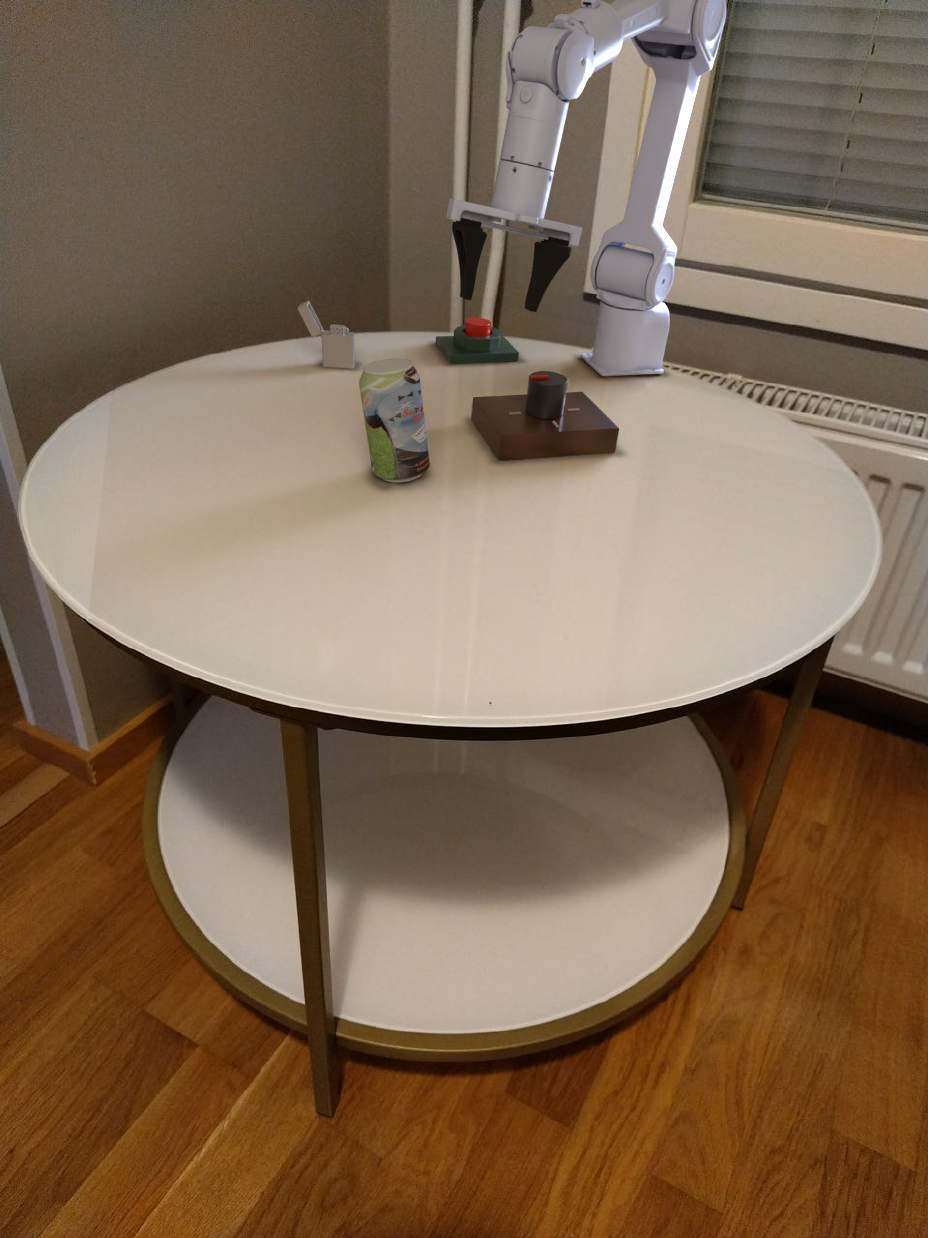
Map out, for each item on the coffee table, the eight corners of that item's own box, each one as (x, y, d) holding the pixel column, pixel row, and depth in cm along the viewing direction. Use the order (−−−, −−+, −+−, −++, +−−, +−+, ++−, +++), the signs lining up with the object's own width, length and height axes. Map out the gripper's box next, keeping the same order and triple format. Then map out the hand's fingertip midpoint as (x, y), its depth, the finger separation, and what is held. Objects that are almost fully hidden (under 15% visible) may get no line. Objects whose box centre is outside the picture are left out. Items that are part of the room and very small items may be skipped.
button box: (500, 342, 127) (502, 321, 125) (518, 361, 121) (520, 339, 119) (435, 344, 124) (436, 323, 123) (449, 363, 118) (450, 342, 117)
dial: (555, 403, 101) (560, 367, 99) (569, 418, 98) (574, 381, 95) (520, 405, 100) (523, 368, 97) (532, 420, 97) (537, 383, 94)
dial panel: (579, 414, 107) (582, 389, 105) (615, 452, 98) (619, 426, 96) (470, 420, 103) (472, 395, 101) (498, 460, 95) (501, 434, 93)
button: (485, 329, 123) (486, 317, 122) (493, 337, 120) (494, 325, 119) (461, 330, 122) (462, 317, 121) (468, 338, 119) (469, 325, 118)
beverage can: (421, 493, 87) (425, 378, 80) (352, 483, 88) (349, 368, 81) (435, 467, 92) (440, 357, 85) (369, 457, 93) (369, 347, 86)
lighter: (355, 364, 116) (354, 303, 111) (353, 368, 114) (352, 307, 110) (302, 360, 116) (299, 299, 111) (300, 364, 115) (297, 303, 110)
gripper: (471, 150, 82) (445, 298, 88) (605, 183, 87) (572, 321, 93) (451, 149, 88) (428, 288, 94) (578, 180, 93) (548, 310, 99)
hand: (498, 304), depth 94 cm, fingers open, 7 cm apart
